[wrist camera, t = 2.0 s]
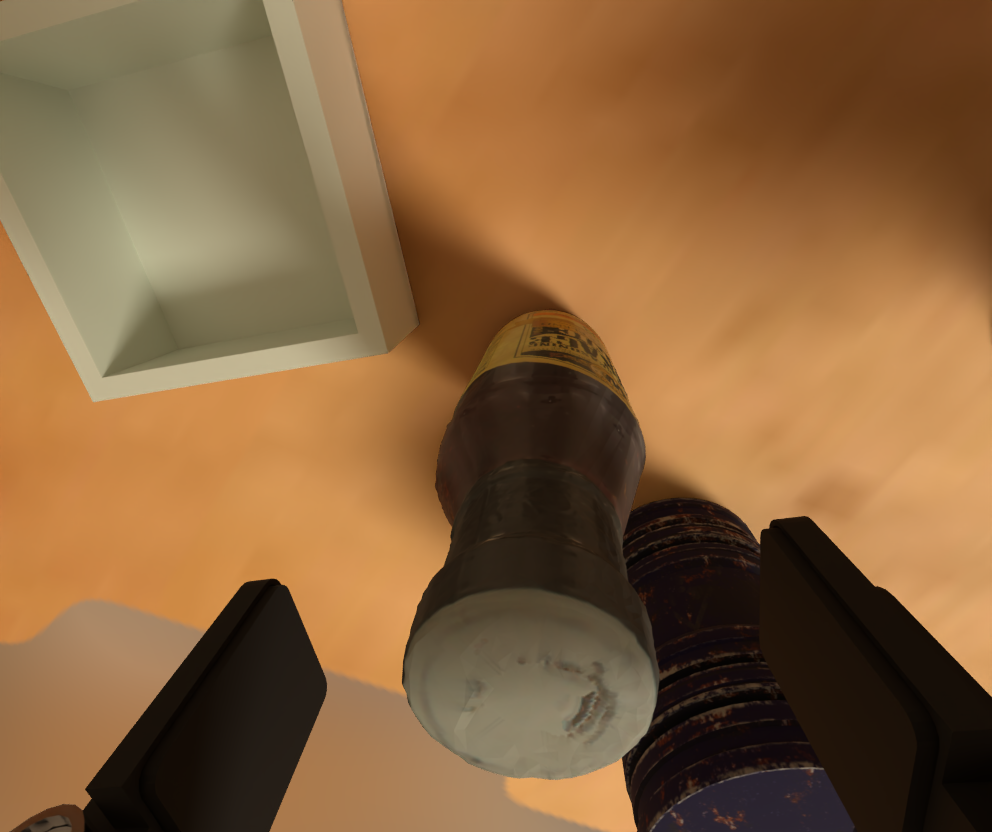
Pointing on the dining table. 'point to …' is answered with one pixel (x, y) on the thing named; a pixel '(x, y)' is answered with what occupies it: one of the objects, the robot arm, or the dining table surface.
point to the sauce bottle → (536, 564)
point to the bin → (196, 188)
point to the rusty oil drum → (715, 687)
